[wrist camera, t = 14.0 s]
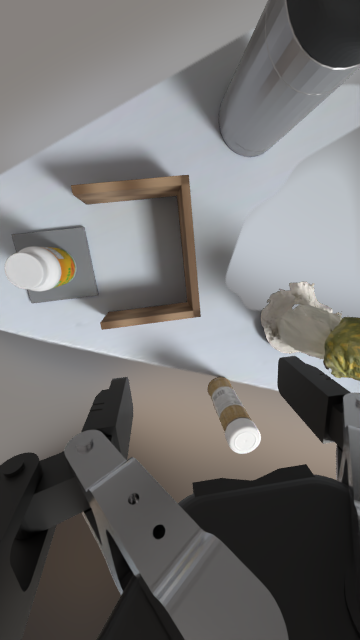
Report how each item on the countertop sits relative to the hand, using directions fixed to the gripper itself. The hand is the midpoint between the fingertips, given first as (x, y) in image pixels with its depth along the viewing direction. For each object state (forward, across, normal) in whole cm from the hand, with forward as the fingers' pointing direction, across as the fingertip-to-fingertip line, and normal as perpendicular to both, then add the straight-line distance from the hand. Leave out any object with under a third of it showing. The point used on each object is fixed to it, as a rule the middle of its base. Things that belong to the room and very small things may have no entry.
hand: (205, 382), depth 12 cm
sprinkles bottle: (+27, -7, +19) cm, 34 cm away
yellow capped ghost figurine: (+28, -22, +7) cm, 36 cm away
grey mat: (+27, +17, -6) cm, 32 cm away
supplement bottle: (+27, +16, -6) cm, 32 cm away
